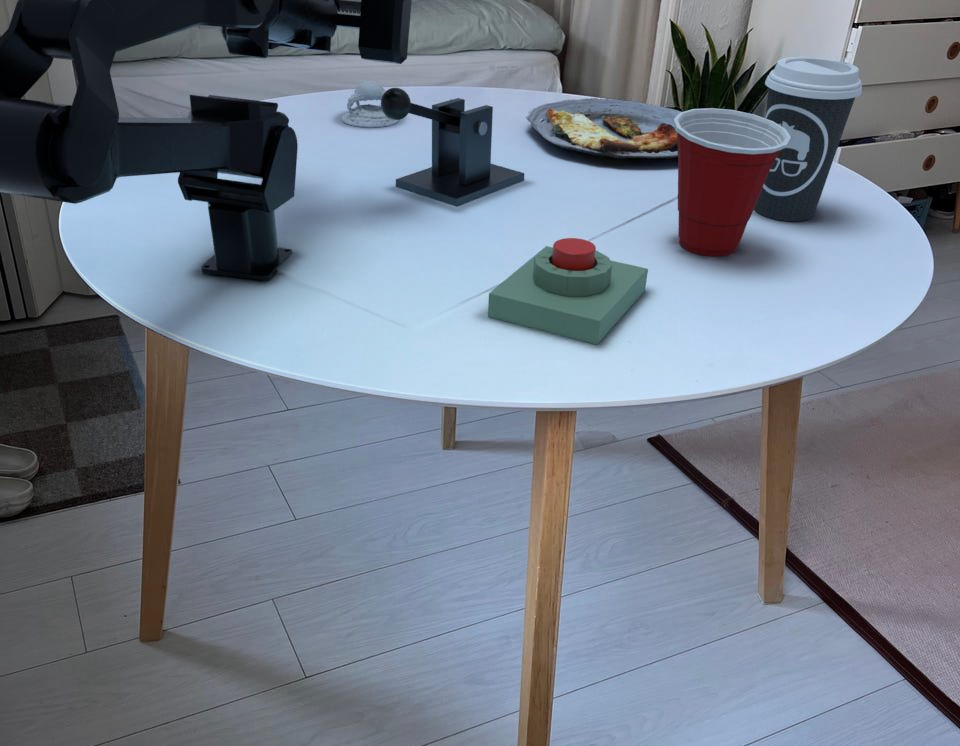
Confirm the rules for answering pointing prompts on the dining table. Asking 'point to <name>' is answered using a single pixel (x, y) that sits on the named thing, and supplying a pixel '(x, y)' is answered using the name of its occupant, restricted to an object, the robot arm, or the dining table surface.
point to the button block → (568, 296)
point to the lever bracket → (461, 160)
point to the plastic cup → (721, 175)
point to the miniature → (367, 107)
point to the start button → (573, 254)
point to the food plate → (608, 127)
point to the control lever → (417, 110)
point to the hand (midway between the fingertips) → (349, 31)
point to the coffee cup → (805, 131)
